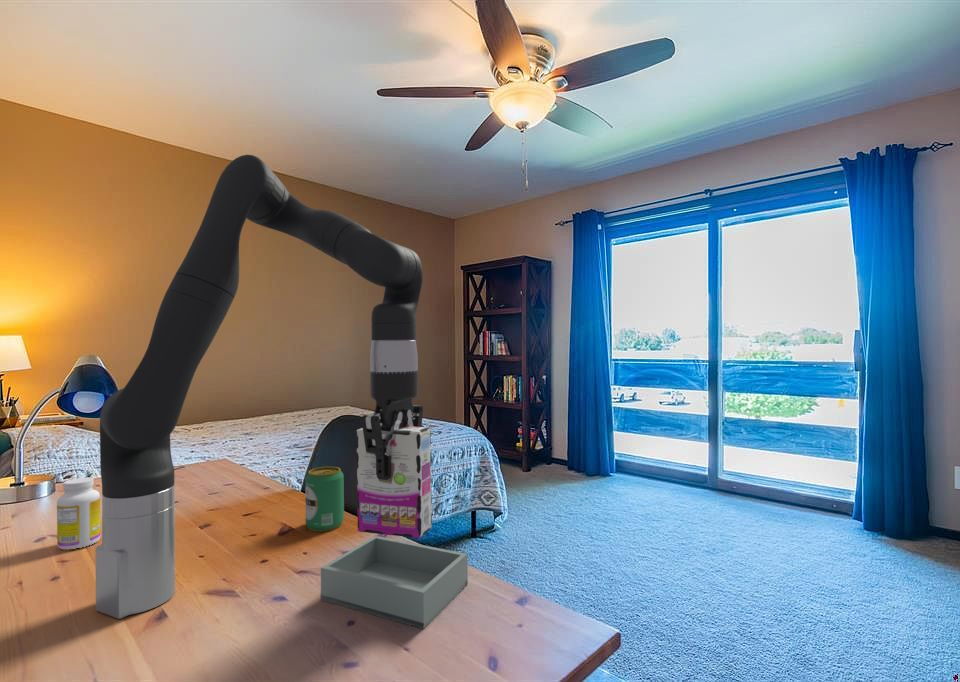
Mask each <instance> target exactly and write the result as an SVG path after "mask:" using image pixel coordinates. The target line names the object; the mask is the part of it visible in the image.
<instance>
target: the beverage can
mask: <svg viewBox="0 0 960 682" xmlns="http://www.w3.org/2000/svg"><path fill="white" fill-rule="evenodd" d="M344 475H345V474H344V473H343V472H342V470H341V468H340V467H338V466H321V467H319V466H318V467H315V468H312V469H310V470H308V471H307V475H306V476H305V480H304V481H305V483H304V484H305V485H304V487H305V496H304V497H305V525H306V526H307V529H308V530H310V531H312V532H328V531H333V530H335V529H338V528H340V527H341V526H342V525H341V524H343V522H344V520H345V497H344V496H345V493H344V492H345V490H344V489H345V487H344V486H345V485H344V484H345V483H344V478H345V477H344ZM339 526H340V527H339Z"/></svg>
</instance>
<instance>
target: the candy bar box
mask: <svg viewBox="0 0 960 682" xmlns="http://www.w3.org/2000/svg"><path fill="white" fill-rule="evenodd" d="M431 429H432V428H431V426H430V427H429V426H422V427H415V426H414V427H403V428H399V429H398V430H397V431H396V432H395V433H396V439H395V441H393V444H392V449H391V453H390V455H391V478H390V479H388V480H380V479H378V478H377V475H376V456H375V454H372V453H367V452H366V448H365V441H364V434H363V427H361V428H359V429H357V430H356V479H357V480H356V488H357V489H356V490H357V491H356V492H357V493H356V495H357V498H356V499H357V501H356V502H357V532H360V533H369V534H378V535H386V536H396V537H404V538H405V537H406V538H413V539H414V538H415V539H421V538H422V537H423V536H424V535H425V534H427V533H428V532H429V531H430V530H431V529H432V528H433V509H432V507H433V506H432V505H433V504H432V502H433V500H432V499H433V497H432V496H433V495H432V440H431V437H432V434H431V433H432V431H431ZM381 432H382V434H386V435H388V434H390V432H391V431H390V432H388V431H382V430H381ZM372 443H373V445H375V440H374V439H372ZM385 444H386V440H383V447H385Z"/></svg>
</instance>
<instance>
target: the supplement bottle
mask: <svg viewBox="0 0 960 682" xmlns="http://www.w3.org/2000/svg"><path fill="white" fill-rule="evenodd" d="M94 483H95V482H94V478H93V477H78V478H72V479H69V480H68V479H67V480H66V481H64V482H63V483H62V484H63V485H62V489H63V491H64V494H62V495H60V496H59V497H58V499H57V500H56V520H57V521H56V530H57V531H56V534H57V536H56V538H57V539H56V540H57V543H56V544H57V548H58V547H59V548H62V549H73V548H80V549H82V548H81V547H84V548H87V547H90V546H93V545H95V544H96V543H98V542H99V541H100V539H101V495H100V492H99V491H98V490H96V489H94V488H93V486H94V485H95V484H94ZM94 543H95V544H94ZM92 544H93V545H92ZM89 545H90V546H89ZM86 546H87V547H86ZM59 548H58V549H59Z"/></svg>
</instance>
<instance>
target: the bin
mask: <svg viewBox="0 0 960 682" xmlns="http://www.w3.org/2000/svg"><path fill="white" fill-rule="evenodd" d="M468 575H469V573H468V553H465V552H461V551H455V550H454V551H453V550H451V549H450V550H449V549H445V548H444V549H443V548H440V547H434V546H429V545H424V544H419V543H415V542H414V543H413V542H409V541H404V540H398V539H394V538H393V539H392V538H388V537H384V536H378V535H374V536H373V537H371V538H369V539H367V540H364V542H362V543H361V544H358V545H357V546H355V547H354V548H351V549H350V550H348V551H346V552H345V553H343V554H342V555H340V556H338V557H337V558H335V559H333V560H331V561H329V562H328V563H327V564H324V565H323V566H321V567H320V600H321V601H322V602H327V603H330V604H334V605H338V606H341V607H345V608H349V609H352V610H356V611H359V612H362V613H366V614H370V615H372V616H377V617H379V618H383V619H384V618H385V619H386V620H391V621H394V622H398V623H401V624H404V623H405V625H408V624H409V625H408V626H411V625H413V626H412V627H415V626H416V628H419V629H423V630H424V629H425V628H426V627H427V626H428V625H429V624H430V623H431V622H433V620H435V618H436V617H437V616H438V615H439V614H440V613H441V612H442V611H443V610H444V609H446V607H447V606H449V604H450V603H451V602H452V601H453V600H454V599H455V598H456V597H457V596H458V595H459V594H460V593H461V592H462V591H463V590H464V589H465V588H466V587H467V586H468V585H467V584H468V582H469V581H468V579H469V578H468ZM466 585H467V586H466ZM465 586H466V587H465ZM464 587H465V588H464ZM463 588H464V589H463ZM462 589H463V590H462ZM461 590H462V591H461ZM460 591H461V592H460ZM459 592H460V593H459Z"/></svg>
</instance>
